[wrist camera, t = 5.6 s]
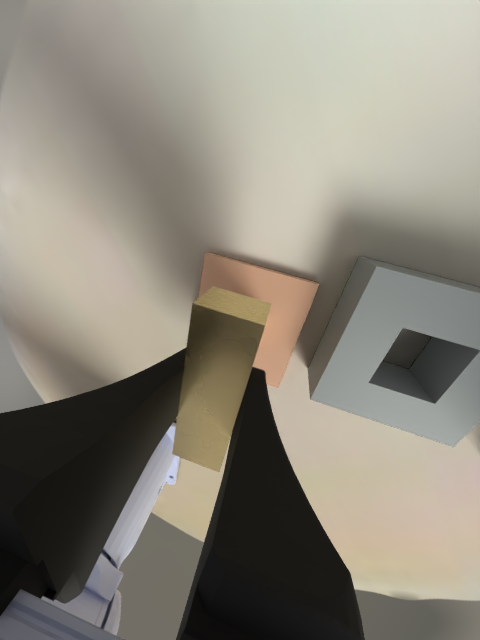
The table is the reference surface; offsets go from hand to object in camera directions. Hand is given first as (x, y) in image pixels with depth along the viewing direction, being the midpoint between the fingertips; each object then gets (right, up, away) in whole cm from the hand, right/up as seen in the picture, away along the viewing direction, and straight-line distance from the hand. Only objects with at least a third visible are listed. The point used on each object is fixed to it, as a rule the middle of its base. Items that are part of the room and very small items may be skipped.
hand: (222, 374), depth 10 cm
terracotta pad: (+1, +2, +5) cm, 6 cm away
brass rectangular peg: (+1, +2, +5) cm, 5 cm away
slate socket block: (+10, +1, +3) cm, 11 cm away
